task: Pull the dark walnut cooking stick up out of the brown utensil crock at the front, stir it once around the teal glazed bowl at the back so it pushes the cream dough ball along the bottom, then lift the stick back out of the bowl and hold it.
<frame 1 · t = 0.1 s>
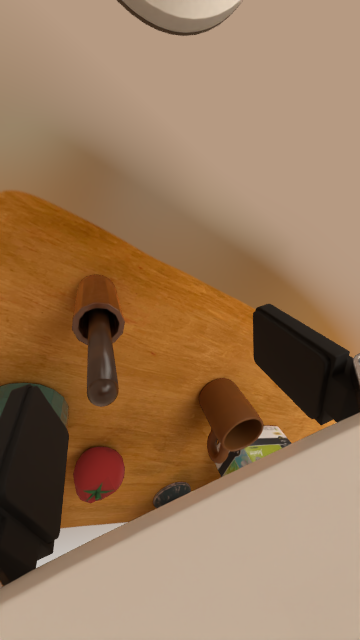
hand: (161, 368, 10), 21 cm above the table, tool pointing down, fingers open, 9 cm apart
tea box: (244, 439, 55), on the table
tomato: (98, 452, 41), on the table
stick: (97, 293, 28), resting on crock
mug: (210, 400, 45), on the table
bowl: (23, 413, 33), on the table
teapot: (184, 493, 57), on the table
crock: (97, 291, 29), on the table
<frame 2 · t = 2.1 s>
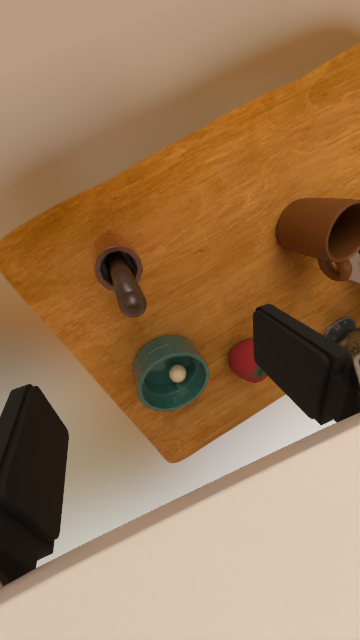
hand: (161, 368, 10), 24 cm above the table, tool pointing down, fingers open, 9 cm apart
tomato: (240, 349, 46), on the table
stick: (112, 251, 30), resting on crock
mug: (296, 237, 38), on the table
bowl: (165, 362, 41), on the table
teapot: (349, 325, 54), on the table
dough ball: (177, 373, 41), point 2 cm above the table, touching bowl
crock: (111, 250, 30), on the table
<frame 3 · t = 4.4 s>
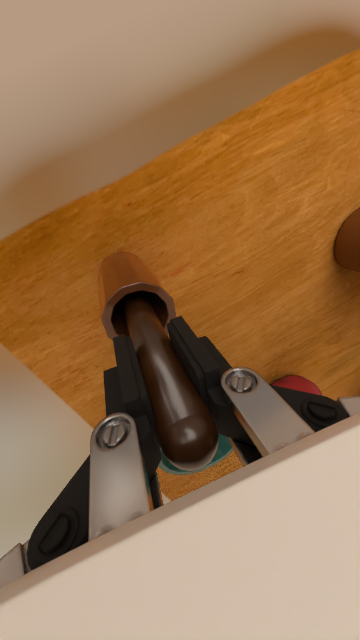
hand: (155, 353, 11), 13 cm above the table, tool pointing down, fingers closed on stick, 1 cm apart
tomato: (277, 386, 38), on the table
stick: (124, 277, 21), resting on crock, touching gripper
mug: (356, 251, 30), on the table
bowl: (187, 408, 33), on the table
crock: (123, 276, 22), on the table
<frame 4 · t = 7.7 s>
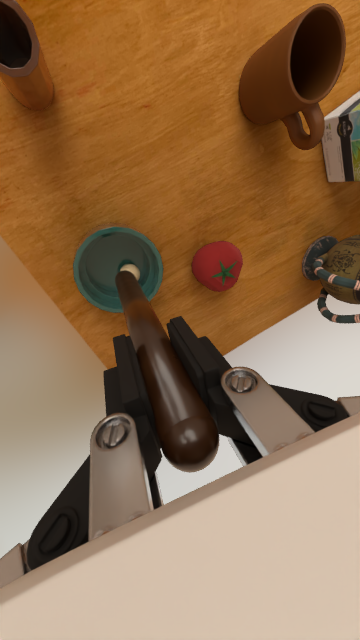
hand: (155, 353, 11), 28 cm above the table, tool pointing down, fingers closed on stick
tea box: (357, 127, 39), on the table
tomato: (207, 260, 41), on the table
stick: (124, 277, 21), point 16 cm above the table, touching gripper
mug: (264, 110, 33), on the table
bowl: (117, 263, 36), on the table
teapot: (333, 249, 49), on the table
dough ball: (129, 274, 35), point 2 cm above the table, touching bowl
crock: (30, 83, 25), on the table
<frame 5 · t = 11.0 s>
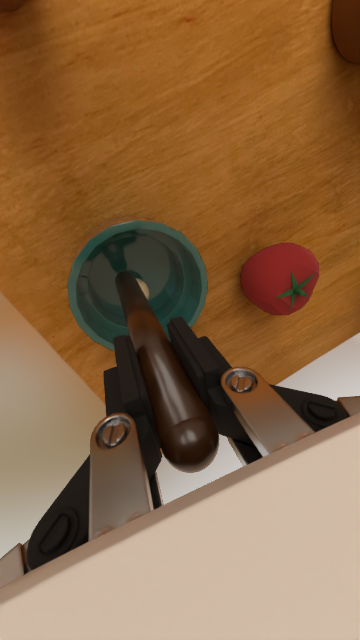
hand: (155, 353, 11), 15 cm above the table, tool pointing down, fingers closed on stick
tomato: (259, 270, 29), on the table
stick: (124, 278, 21), point 3 cm above the table, touching gripper
bowl: (134, 276, 24), on the table
dough ball: (133, 293, 23), point 2 cm above the table, tilted 60°, touching bowl
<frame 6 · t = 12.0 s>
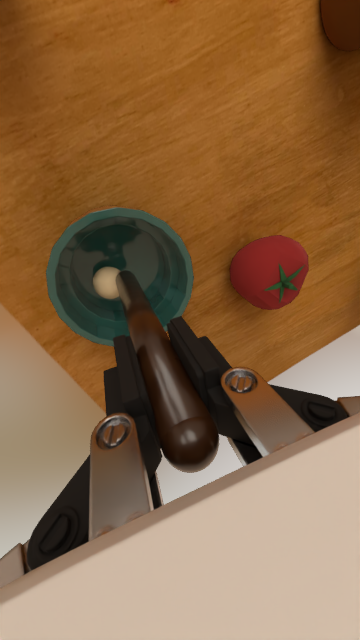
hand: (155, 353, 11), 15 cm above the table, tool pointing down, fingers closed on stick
tomato: (249, 264, 29), on the table
stick: (124, 277, 21), point 3 cm above the table, touching dough ball, gripper
mug: (352, 29, 21), on the table
bowl: (120, 269, 24), on the table
dough ball: (109, 282, 22), point 2 cm above the table, tilted 89°, touching bowl, stick
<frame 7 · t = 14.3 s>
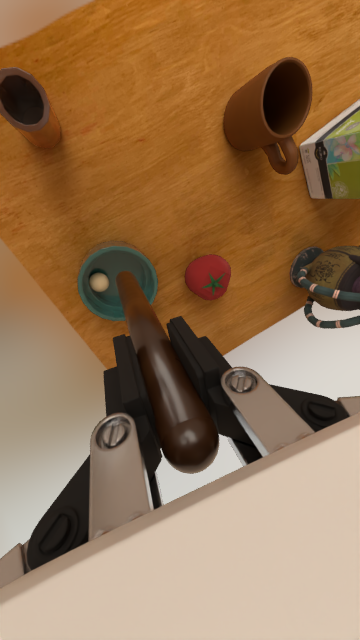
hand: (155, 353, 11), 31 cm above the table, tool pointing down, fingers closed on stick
tea box: (336, 149, 42), on the table
tomato: (200, 271, 45), on the table
stick: (124, 278, 21), point 19 cm above the table, touching gripper
mug: (247, 138, 37), on the table
bowl: (116, 276, 40), on the table
teapot: (319, 258, 52), on the table
dough ball: (99, 282, 37), point 2 cm above the table, tilted 153°, touching bowl
crock: (40, 126, 29), on the table
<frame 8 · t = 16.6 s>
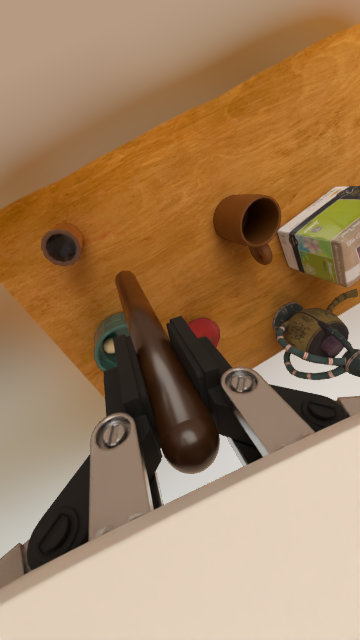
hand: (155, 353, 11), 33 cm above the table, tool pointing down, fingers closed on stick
tea box: (309, 229, 50), on the table
tomato: (194, 328, 52), on the table
stick: (124, 277, 21), point 21 cm above the table, touching gripper
mug: (233, 228, 45), on the table
bowl: (124, 337, 48), on the table
teapot: (298, 310, 60), on the table
dough ball: (111, 345, 45), point 2 cm above the table, tilted 146°, touching bowl
crock: (67, 237, 37), on the table
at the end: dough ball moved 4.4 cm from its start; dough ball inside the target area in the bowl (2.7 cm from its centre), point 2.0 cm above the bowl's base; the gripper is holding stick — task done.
